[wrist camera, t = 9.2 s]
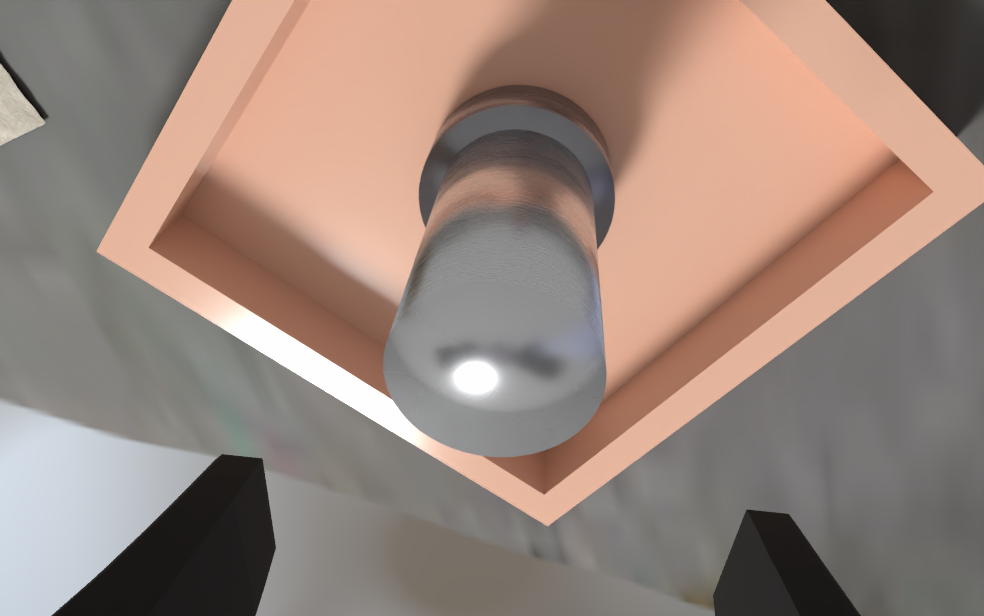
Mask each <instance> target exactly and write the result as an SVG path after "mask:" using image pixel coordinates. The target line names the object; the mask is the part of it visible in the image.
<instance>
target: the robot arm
mask: <svg viewBox="0 0 984 616" xmlns="http://www.w3.org/2000/svg"><path fill="white" fill-rule="evenodd" d="M275 549H276V546H275V539H274V532H273V526H272V519H271V513H270V506H269V500H268V492H267V486H266V479H265V473H264V466H263V459H262V458H252V457H243V456H233V455H224V454H222V455H221V456H219V457H218V458H217V459H216V460H215V461H214V462H213V463H212V464H211V465H210V466H209V467H208V468H207V469H206V470H205V471H204V472H203V473H202V474H201V475H200V476H199V477H198V478H197V479H196V480H195V481H194V482H193V483H192V484H191V485H190V486H189V487H188V488H187V489H186V490H185V491H184V492H183V493H182V494H181V495H180V496H179V497H178V498H177V499H176V500H175V501H174V502H173V503H172V504H171V505H170V506H169V507H168V508H167V509H166V510H165V511H164V512H163V513H162V514H161V515H160V516H159V517H158V518H157V519H156V520H155V521H154V522H153V523H152V524H151V525H150V526H149V527H148V528H147V529H146V530H145V531H144V532H143V533H142V534H141V535H140V536H139V537H137V538H136V539H135V541H134V542H132V543H131V544H130V545H129V546H128V547H127V548H126V549H125V550H124V551H123V552H122V553H121V554H120V555H118V556H117V557H116V558H115V559H114V560H113V561H112V562H111V563H110V564H109V565H108V566H107V567H106V568H105V569H104V570H103V571H102V572H100V573H99V574H98V575H97V576H96V577H95V578H94V579H93V580H92V581H91V582H90V583H88V584H87V585H86V586H85V587H84V588H83V589H81V590H80V591H79V592H78V593H77V594H76V595H75V596H73V598H71V599H70V600H69V601H68V602H67V603H66V604H64V605H63V606H62V607H61V608H60V609H59V610H58V611H56V612H55V613H54V614H53V615H52V616H255V615H256V612H257V609H258V606H259V603H260V599H261V596H262V593H263V590H264V586H265V583H266V580H267V576H268V572H269V569H270V566H271V562H272V559H273V556H274V552H275ZM713 598H714V608H715V616H861V615H860V614H859V612H858V611H857V610H856V608H855V607H854V605H853V604H852V603H851V601H850V600H849V598H848V597H847V596H846V594H845V593H844V591H843V590H842V589H841V587H840V586H839V584H838V583H837V582H836V580H835V579H834V577H833V576H832V575H831V573H830V572H829V570H828V569H827V567H826V566H825V565H824V563H823V562H822V560H821V559H820V557H819V556H818V555H817V553H816V552H815V550H814V549H813V547H812V546H811V545H810V543H809V542H808V540H807V539H806V537H805V536H804V535H803V533H802V532H801V530H800V529H799V527H798V526H797V525H796V523H795V522H794V520H793V519H792V518H791V517H790V515H789V514H783V513H774V512H764V511H755V510H746V513H745V515H744V518H743V520H742V523H741V525H740V528H739V530H738V533H737V536H736V538H735V541H734V543H733V546H732V548H731V551H730V553H729V556H728V559H727V561H726V564H725V566H724V569H723V571H722V574H721V576H720V579H719V582H718V584H717V587H716V589H715V592H714V594H713Z"/></svg>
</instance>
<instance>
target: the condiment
mask: <svg viewBox="0 0 984 616" xmlns="http://www.w3.org/2000/svg"><path fill="white" fill-rule="evenodd" d="M44 124H46V123H45V121H44V120H43V119H42V118H41V116H40V115H39V114H38V112H37V111H36V110H35V108H34V107H33V106H32V105H31V104H30V103H29V102H28V101H27V100H26V98H25V97H24V96H23V94H22V93H21V92H20V90H19V89H18V88H17V86H16V84H15V83H14V81H13V80H12V78H11V77H10V75H9V74H8V73H7V71H6V70H5V69H4V68H3V66H2V65H1V64H0V145H2V144H4V143H6V142H8V141H10V140H12V139H14V138H17V137H19V136H21V135H23V134H25V133H27V132H29V131H31V130H33V129H35V128H37V127H39V126H41V125H44Z"/></svg>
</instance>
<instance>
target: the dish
mask: <svg viewBox="0 0 984 616" xmlns="http://www.w3.org/2000/svg"><path fill="white" fill-rule="evenodd" d="M509 85H528V86H537V87H541V88H545V89H549V90H551V91H554V92H556V93H559V94H561V95H563V96H565V97H567V98H568V99H570V100H572V101H573V102H574V103H576V104H577V105H578V106H580V107H581V108H582V109H583V110H584V111H585V112H586V113H587V114H588V115H589V116H590V117H591V118H592V119H593V121H594V122H595V123H596V125H597V126H598V128H599V129H600V131H601V133H602V135H603V137H604V139H605V142H606V144H607V147H608V151H609V155H610V160H611V167H612V174H613V181H614V190H615V209H614V214H613V219H612V223H611V225H610V228H609V231H608V233H607V235H606V237H605V239H604V241H603V243H602V244H601V245H600V247H599V248H598V250H597V254H598V267H599V280H600V293H601V306H602V318H603V331H604V344H605V357H606V370H607V377H606V387H605V392H604V396H603V399H602V401H601V403H600V406H599V408H598V409H597V411H596V413H595V414H594V416H593V417H592V418H591V420H590V421H589V422H588V423H587V424H586V426H584V427H583V428H582V429H581V430H580V431H579V432H578V433H577V434H575V435H574V436H572V437H571V438H569V439H568V440H566V441H565V442H563V443H561V444H559V445H557V446H555V447H552V448H550V449H547V450H545V451H541V452H538V453H534V454H530V455H523V456H516V457H488V456H480V455H475V454H470V453H465V452H462V451H459V450H456V449H453V448H450V447H448V446H446V445H443V444H441V443H439V442H437V441H435V440H434V439H432V438H430V437H428V436H427V435H425V434H424V433H423V432H421V431H420V430H418V429H417V428H416V427H415V426H414V425H413V424H411V423H410V422H409V421H408V420H407V419H406V418H405V416H404V415H403V414H402V413H401V412H400V410H399V409H398V408H397V406H396V405H395V403H394V402H393V400H392V398H391V396H390V394H389V392H388V389H387V386H386V383H385V378H384V372H383V355H384V349H385V345H386V342H387V339H388V336H389V334H390V331H391V328H392V325H393V322H394V319H395V316H396V313H397V310H398V307H399V304H400V302H401V299H402V296H403V293H404V290H405V287H406V284H407V281H408V278H409V275H410V272H411V270H412V267H413V264H414V261H415V258H416V255H417V252H418V249H419V246H420V243H421V241H422V238H423V235H424V232H425V229H426V228H425V225H424V223H423V220H422V216H421V212H420V206H419V184H420V178H421V174H422V171H423V168H424V165H425V162H426V160H427V157H428V155H429V152H430V150H431V147H432V145H433V143H434V140H435V138H436V136H437V134H438V132H439V130H440V128H441V126H442V125H443V124H444V122H445V121H446V119H447V118H448V117H449V116H450V115H451V114H452V112H453V111H454V110H455V109H457V108H458V107H459V106H460V105H461V104H463V103H464V102H465V101H467V100H469V99H470V98H472V97H473V96H475V95H477V94H480V93H482V92H484V91H487V90H490V89H493V88H497V87H502V86H509ZM983 202H984V165H983V164H982V163H981V162H980V161H979V160H978V159H977V158H976V157H975V156H974V155H973V154H972V153H971V152H970V151H969V150H968V149H967V148H966V147H965V146H964V145H963V144H962V142H961V141H960V140H959V139H958V138H957V137H956V136H955V135H954V134H953V133H952V132H951V131H950V130H949V129H948V128H947V127H946V126H945V125H944V124H943V123H942V122H941V121H940V119H939V118H938V117H937V116H936V115H935V114H934V113H933V112H932V111H931V110H930V109H929V108H928V107H927V106H926V105H925V104H924V103H923V102H922V101H921V100H920V99H919V98H918V96H917V95H916V94H915V93H914V92H913V91H912V90H911V89H910V88H909V87H908V86H907V85H906V84H905V83H904V82H903V81H902V80H901V79H900V78H899V77H898V76H897V75H896V73H895V72H894V71H893V70H892V69H891V68H890V67H889V66H888V65H887V64H886V63H885V62H884V61H883V60H882V59H881V58H880V57H879V56H878V55H877V54H876V53H875V52H874V50H873V49H872V48H871V47H870V46H869V45H868V44H867V43H866V42H865V41H864V40H863V39H862V38H861V37H860V36H859V35H858V34H857V33H856V32H855V31H854V30H853V29H852V27H851V26H850V25H849V24H848V23H847V22H846V21H845V20H844V19H843V18H842V17H841V16H840V15H839V14H838V13H837V12H836V11H835V10H834V9H833V8H832V7H831V6H830V4H829V3H828V2H827V1H826V0H232V2H231V3H230V5H229V7H228V9H227V11H226V13H225V15H224V16H223V18H222V20H221V22H220V24H219V26H218V28H217V29H216V31H215V33H214V35H213V37H212V39H211V40H210V42H209V44H208V46H207V48H206V50H205V52H204V53H203V55H202V57H201V59H200V61H199V63H198V65H197V66H196V68H195V70H194V72H193V74H192V76H191V77H190V79H189V81H188V83H187V85H186V87H185V89H184V90H183V92H182V94H181V96H180V98H179V100H178V102H177V103H176V105H175V107H174V109H173V111H172V113H171V114H170V116H169V118H168V120H167V122H166V124H165V126H164V127H163V129H162V131H161V133H160V135H159V137H158V139H157V140H156V142H155V144H154V146H153V148H152V150H151V151H150V153H149V155H148V157H147V159H146V161H145V163H144V164H143V166H142V168H141V170H140V172H139V174H138V175H137V177H136V179H135V181H134V183H133V185H132V187H131V188H130V190H129V192H128V194H127V196H126V198H125V200H124V201H123V203H122V205H121V207H120V209H119V211H118V212H117V214H116V216H115V218H114V220H113V222H112V224H111V225H110V227H109V229H108V231H107V233H106V235H105V237H104V238H103V240H102V242H101V244H100V246H99V248H98V249H97V251H96V252H98V253H100V254H101V255H103V256H105V257H106V258H108V259H110V260H111V261H113V262H114V263H116V264H118V265H119V266H121V267H123V268H124V269H126V270H128V271H129V272H131V273H133V274H134V275H136V276H137V277H139V278H141V279H142V280H144V281H146V282H147V283H149V284H151V285H152V286H154V287H156V288H157V289H159V290H160V291H162V292H164V293H165V294H167V295H169V296H170V297H172V298H174V299H175V300H177V301H179V302H180V303H182V304H183V305H185V306H187V307H188V308H190V309H192V310H193V311H195V312H197V313H198V314H200V315H202V316H203V317H205V318H206V319H208V320H210V321H211V322H213V323H215V324H216V325H218V326H220V327H221V328H223V329H225V330H226V331H228V332H229V333H231V334H233V335H234V336H236V337H238V338H239V339H241V340H243V341H244V342H246V343H248V344H249V345H251V346H252V347H254V348H256V349H257V350H259V351H261V352H262V353H264V354H266V355H267V356H269V357H271V358H272V359H274V360H275V361H277V362H279V363H280V364H282V365H284V366H285V367H287V368H289V369H290V370H292V371H294V372H295V373H297V374H298V375H300V376H302V377H303V378H305V379H307V380H308V381H310V382H312V383H313V384H315V385H317V386H318V387H320V388H321V389H323V390H325V391H326V392H328V393H330V394H331V395H333V396H335V397H336V398H338V399H339V400H341V401H343V402H344V403H346V404H348V405H349V406H351V407H353V408H354V409H356V410H358V411H359V412H361V413H362V414H364V415H366V416H367V417H369V418H371V419H372V420H374V421H376V422H377V423H379V424H381V425H382V426H384V427H385V428H387V429H389V430H390V431H392V432H394V433H395V434H397V435H399V436H400V437H402V438H404V439H405V440H407V441H408V442H410V443H412V444H413V445H415V446H417V447H418V448H420V449H422V450H423V451H425V452H427V453H428V454H430V455H431V456H433V457H435V458H436V459H438V460H440V461H441V462H443V463H445V464H446V465H448V466H450V467H451V468H453V469H454V470H456V471H458V472H459V473H461V474H463V475H464V476H466V477H468V478H469V479H471V480H473V481H474V482H476V483H477V484H479V485H481V486H482V487H484V488H486V489H487V490H489V491H491V492H492V493H494V494H496V495H497V496H499V497H500V498H502V499H504V500H505V501H507V502H509V503H510V504H512V505H514V506H515V507H517V508H519V509H520V510H522V511H523V512H525V513H527V514H528V515H530V516H532V517H533V518H535V519H537V520H538V521H540V522H542V523H543V524H545V525H546V526H549V525H550V524H551V523H553V522H554V521H555V520H557V519H558V518H559V517H561V516H562V515H563V514H565V513H566V512H567V511H569V510H570V509H571V508H573V507H574V506H575V505H577V504H578V503H579V502H581V501H582V500H583V499H585V498H586V497H588V496H589V495H590V494H592V493H593V492H594V491H596V490H597V489H598V488H600V487H601V486H602V485H604V484H605V483H606V482H608V481H609V480H610V479H612V478H613V477H614V476H616V475H617V474H618V473H620V472H621V471H622V470H624V469H625V468H627V467H628V466H629V465H631V464H632V463H633V462H635V461H636V460H637V459H639V458H640V457H641V456H643V455H644V454H645V453H647V452H648V451H649V450H651V449H652V448H653V447H655V446H656V445H657V444H659V443H660V442H661V441H663V440H664V439H666V438H667V437H668V436H670V435H671V434H672V433H674V432H675V431H676V430H678V429H679V428H680V427H682V426H683V425H684V424H686V423H687V422H688V421H690V420H691V419H692V418H694V417H695V416H696V415H698V414H699V413H700V412H702V411H703V410H705V409H706V408H707V407H709V406H710V405H711V404H713V403H714V402H715V401H717V400H718V399H719V398H721V397H722V396H723V395H725V394H726V393H727V392H729V391H730V390H731V389H733V388H734V387H735V386H737V385H738V384H739V383H741V382H742V381H744V380H745V379H746V378H748V377H749V376H750V375H752V374H753V373H754V372H756V371H757V370H758V369H760V368H761V367H762V366H764V365H765V364H766V363H768V362H769V361H770V360H772V359H773V358H774V357H776V356H777V355H778V354H780V353H781V352H783V351H784V350H785V349H787V348H788V347H789V346H791V345H792V344H793V343H795V342H796V341H797V340H799V339H800V338H801V337H803V336H804V335H805V334H807V333H808V332H809V331H811V330H812V329H813V328H815V327H816V326H817V325H819V324H820V323H822V322H823V321H824V320H826V319H827V318H828V317H830V316H831V315H832V314H834V313H835V312H836V311H838V310H839V309H840V308H842V307H843V306H844V305H846V304H847V303H848V302H850V301H851V300H852V299H854V298H855V297H856V296H858V295H859V294H861V293H862V292H863V291H865V290H866V289H867V288H869V287H870V286H871V285H873V284H874V283H875V282H877V281H878V280H879V279H881V278H882V277H883V276H885V275H886V274H887V273H889V272H890V271H891V270H893V269H894V268H895V267H897V266H898V265H900V264H901V263H902V262H904V261H905V260H906V259H908V258H909V257H910V256H912V255H913V254H914V253H916V252H917V251H918V250H920V249H921V248H922V247H924V246H925V245H926V244H928V243H929V242H930V241H932V240H933V239H934V238H936V237H937V236H939V235H940V234H941V233H943V232H944V231H945V230H947V229H948V228H949V227H951V226H952V225H953V224H955V223H956V222H957V221H959V220H960V219H961V218H963V217H964V216H965V215H967V214H968V213H969V212H971V211H972V210H973V209H975V208H976V207H978V206H979V205H980V204H982V203H983Z"/></svg>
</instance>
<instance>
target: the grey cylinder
mask: <svg viewBox="0 0 984 616" xmlns="http://www.w3.org/2000/svg"><path fill="white" fill-rule="evenodd" d="M419 206H420V212H421V216H422V220H423V223H424V225H425V228H426V229H425V232H424V235H423V238H422V241H421V243H420V246H419V249H418V252H417V255H416V258H415V261H414V264H413V267H412V270H411V272H410V275H409V278H408V281H407V284H406V287H405V290H404V293H403V296H402V299H401V302H400V304H399V307H398V310H397V313H396V316H395V319H394V322H393V325H392V328H391V331H390V334H389V336H388V339H387V342H386V345H385V349H384V355H383V372H384V378H385V383H386V386H387V389H388V392H389V394H390V396H391V398H392V400H393V402H394V403H395V405H396V406H397V408H398V409H399V410H400V412H401V413H402V414H403V415H404V416H405V418H406V419H407V420H408V421H409V422H410V423H411V424H413V425H414V426H415V427H416V428H417V429H418V430H420V431H421V432H423V433H424V434H425V435H427V436H428V437H430V438H432V439H434V440H435V441H437V442H439V443H441V444H443V445H446V446H448V447H450V448H453V449H456V450H459V451H462V452H465V453H470V454H475V455H480V456H488V457H516V456H523V455H530V454H534V453H538V452H541V451H545V450H547V449H550V448H552V447H555V446H557V445H559V444H561V443H563V442H565V441H566V440H568V439H569V438H571V437H572V436H574V435H575V434H577V433H578V432H579V431H580V430H581V429H582V428H583V427H584V426H586V424H587V423H588V422H589V421H590V420H591V418H592V417H593V416H594V414H595V413H596V411H597V409H598V408H599V406H600V403H601V401H602V399H603V396H604V392H605V387H606V377H607V370H606V357H605V344H604V331H603V318H602V306H601V293H600V280H599V267H598V254H597V250H598V248H599V247H600V245H601V244H602V243H603V241H604V239H605V237H606V235H607V233H608V231H609V228H610V225H611V223H612V219H613V214H614V209H615V190H614V181H613V174H612V167H611V160H610V155H609V151H608V147H607V144H606V142H605V139H604V137H603V135H602V133H601V131H600V129H599V128H598V126H597V125H596V123H595V122H594V121H593V119H592V118H591V117H590V116H589V115H588V114H587V113H586V112H585V111H584V110H583V109H582V108H581V107H580V106H578V105H577V104H576V103H574V102H573V101H572V100H570V99H568V98H567V97H565V96H563V95H561V94H559V93H556V92H554V91H551V90H549V89H545V88H541V87H537V86H528V85H509V86H502V87H497V88H493V89H490V90H487V91H484V92H482V93H480V94H477V95H475V96H473V97H472V98H470V99H469V100H467V101H465V102H464V103H463V104H461V105H460V106H459V107H458V108H457V109H455V110H454V111H453V112H452V114H451V115H450V116H449V117H448V118H447V119H446V121H445V122H444V124H443V125H442V126H441V128H440V130H439V132H438V134H437V136H436V138H435V140H434V143H433V145H432V147H431V150H430V152H429V155H428V157H427V160H426V162H425V165H424V168H423V171H422V174H421V178H420V184H419Z"/></svg>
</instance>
